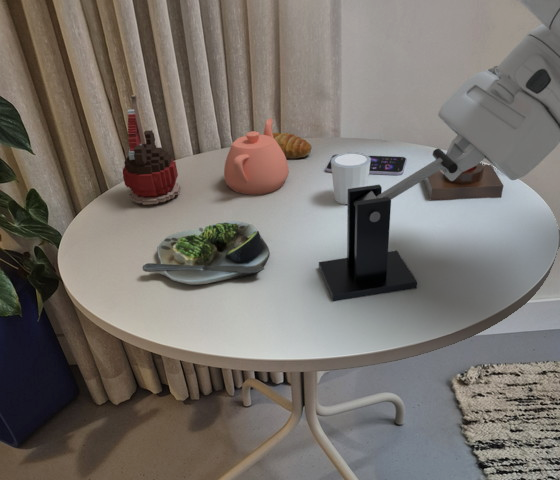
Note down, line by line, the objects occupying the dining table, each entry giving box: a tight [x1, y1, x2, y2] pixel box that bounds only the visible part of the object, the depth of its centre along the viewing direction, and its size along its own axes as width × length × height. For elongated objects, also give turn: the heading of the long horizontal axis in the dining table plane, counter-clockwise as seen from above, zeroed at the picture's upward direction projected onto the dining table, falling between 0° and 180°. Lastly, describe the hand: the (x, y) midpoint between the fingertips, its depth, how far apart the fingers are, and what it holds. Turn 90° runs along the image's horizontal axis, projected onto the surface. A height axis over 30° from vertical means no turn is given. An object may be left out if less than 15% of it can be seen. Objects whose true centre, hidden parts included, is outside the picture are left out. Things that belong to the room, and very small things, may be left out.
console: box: [422, 162, 504, 202], centre depth 101 cm, size 12×9×4 cm
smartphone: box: [325, 153, 408, 176], centre depth 113 cm, size 8×1×15 cm
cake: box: [122, 94, 181, 205], centre depth 103 cm, size 11×9×18 cm
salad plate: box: [142, 220, 271, 285], centre depth 88 cm, size 19×18×5 cm
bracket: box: [318, 184, 418, 302], centre depth 79 cm, size 12×9×13 cm
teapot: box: [223, 117, 290, 195], centre depth 108 cm, size 12×18×10 cm
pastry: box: [272, 132, 313, 160], centre depth 119 cm, size 9×7×4 cm
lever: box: [354, 148, 458, 207], centre depth 74 cm, size 13×6×2 cm, turn 99°
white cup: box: [331, 151, 371, 205], centre depth 101 cm, size 7×7×7 cm
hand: (443, 174), depth 75 cm, fingers closed
